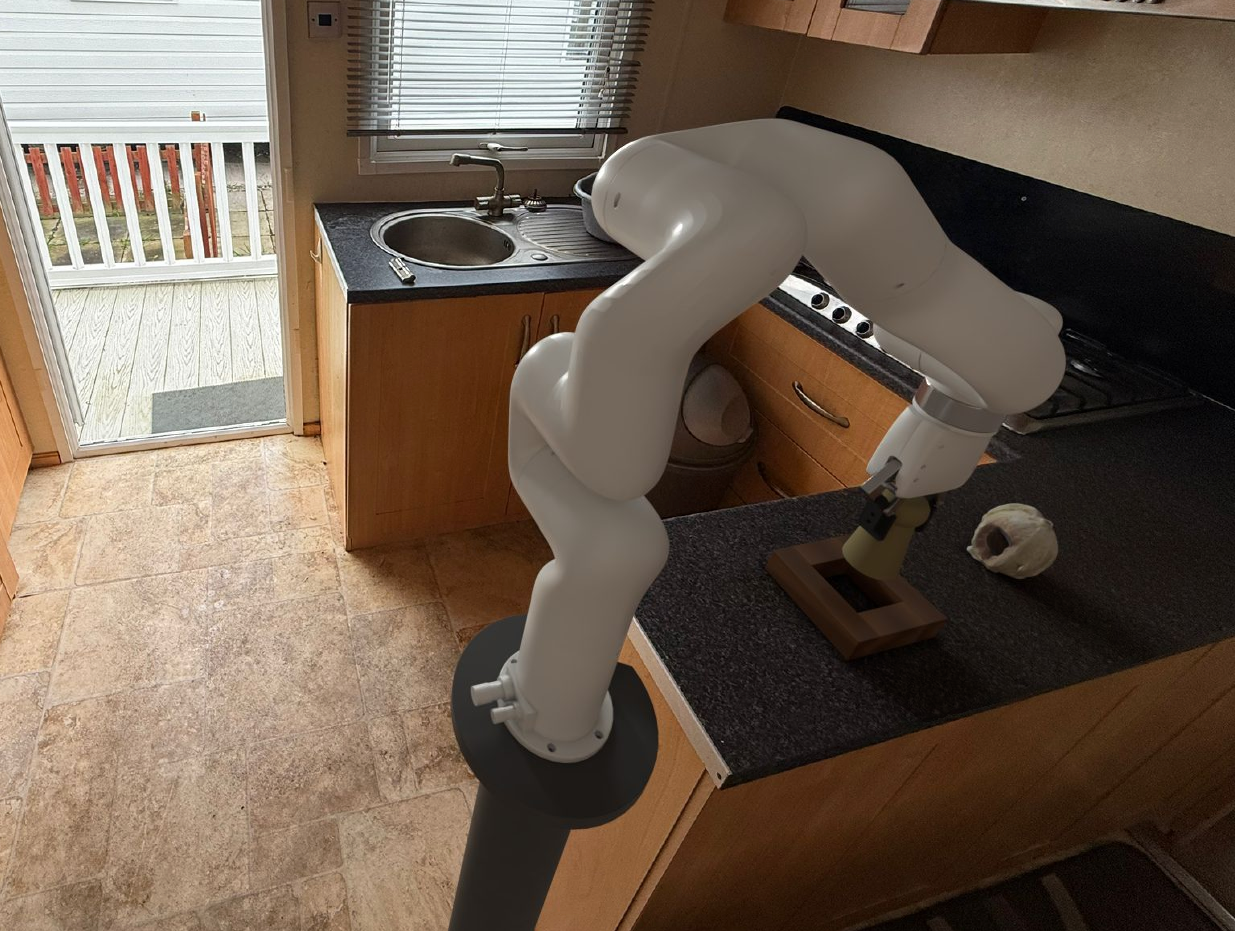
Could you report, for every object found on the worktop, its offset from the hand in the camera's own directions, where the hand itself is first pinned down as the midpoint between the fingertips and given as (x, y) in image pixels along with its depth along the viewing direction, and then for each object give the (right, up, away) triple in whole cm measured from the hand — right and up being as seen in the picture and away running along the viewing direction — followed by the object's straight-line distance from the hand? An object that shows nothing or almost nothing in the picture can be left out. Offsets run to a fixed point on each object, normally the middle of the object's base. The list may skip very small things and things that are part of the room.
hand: (889, 526), depth 78 cm
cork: (0, -5, +3) cm, 6 cm away
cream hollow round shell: (+25, -10, +14) cm, 30 cm away
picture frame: (-1, -12, +6) cm, 13 cm away
